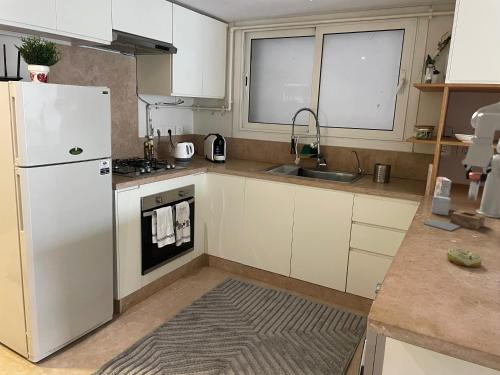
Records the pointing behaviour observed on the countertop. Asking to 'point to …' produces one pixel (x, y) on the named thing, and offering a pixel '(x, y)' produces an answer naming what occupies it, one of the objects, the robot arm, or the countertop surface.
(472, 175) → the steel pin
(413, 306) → the countertop surface
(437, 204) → the medicine box
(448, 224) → the rubber mat
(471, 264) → the decorated donut
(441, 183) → the candy bar box
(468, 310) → the countertop surface
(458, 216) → the eye block
